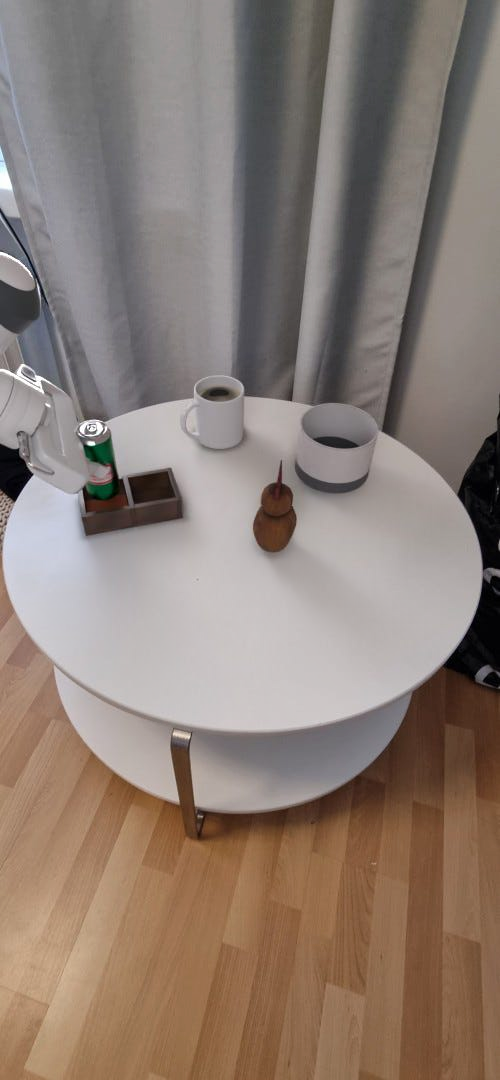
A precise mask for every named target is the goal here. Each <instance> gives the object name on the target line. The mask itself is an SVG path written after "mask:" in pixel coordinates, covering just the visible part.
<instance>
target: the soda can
mask: <svg viewBox="0 0 500 1080" xmlns="http://www.w3.org/2000/svg"><path fill="white" fill-rule="evenodd" d="M80 423H81V424H80V425H79V426H78V427H77V429H76V433H77V435H78V436H79V438H80V440H81V441H82V443H83V447H84V451H85V455H86V457H87V458H89V459H90V461H91V462H97V461H98V460H99V461H101V462H103V463H105V464H106V465H107V468H108V474H107V475H106V476H105V477H104V478H98V477H96V476H94V475H90V480H89V481H88V483H87V484H86V489H87V493H88V495H89V496H90V497H91V498H93V499H95V500H98V501H107V500H110V499H112V498H114V497H115V496H116V495H117V494H118V493H119V491H120V483H119V477H118V476H119V472H118V466H117V459H116V453H115V448H114V443H113V442H114V441H113V437H112V435H113V434H112V431H111V429H110V428H108V425H107V424H106V422H104V421H101V420H97V419H90V420H89V419H88V420H86V421H83V422H80Z"/></svg>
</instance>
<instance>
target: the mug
mask: <svg viewBox="0 0 500 1080" xmlns="http://www.w3.org/2000/svg"><path fill="white" fill-rule="evenodd" d="M193 409H194V419H195V420H194V422H195V423H194V424H195V425H194V426H195V431H189V430H188V429H187V419H188V416H189V414H190V413H191V411H193ZM244 417H245V387H244V384H243V383H242V382H241V381H240V380H238V379H237V378H235V377H232V376H228V375H224V374H223V375H221V374H218V375H217V374H216V375H209V376H205V377H203V378H201V379H200V380H198V381H197V382H196V383H195V384H194V388H193V399H192V400H190V401H189V402H187V404H186V405H185V406H184V407H183V409H182V410H181V413H180V418H179V423H180V424H179V426H180V428H181V431H182V432H183V433H184V434H185V435H186V436H187V437H188V438H190V439H194V440H195V439H196V440H197V441H198V442H199V443H200V444H201V445H202V446H205V447H207V448H209V449H212V450H213V449H214V450H226V449H230V448H233V447H235V446H238V445H239V444H240V442H242V440H243V437H244V421H245V420H244V419H245V418H244Z"/></svg>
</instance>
